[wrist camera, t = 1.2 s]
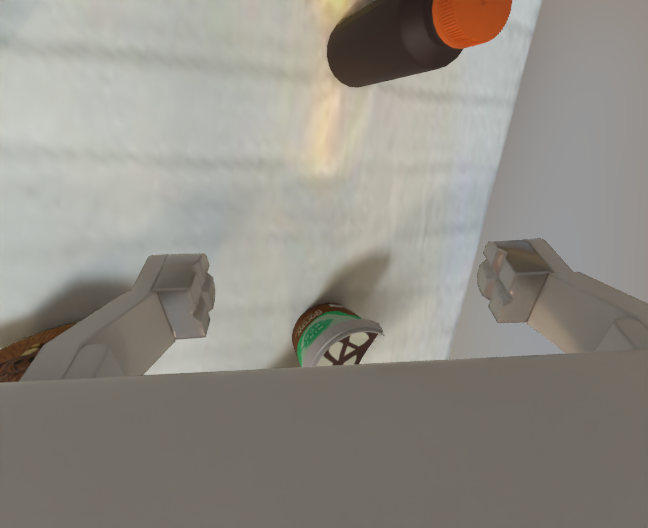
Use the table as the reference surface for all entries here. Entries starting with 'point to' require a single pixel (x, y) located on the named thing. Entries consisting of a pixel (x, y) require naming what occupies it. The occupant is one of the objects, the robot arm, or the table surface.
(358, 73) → the vinegar
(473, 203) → the table surface
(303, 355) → the food container
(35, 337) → the wooden carving
